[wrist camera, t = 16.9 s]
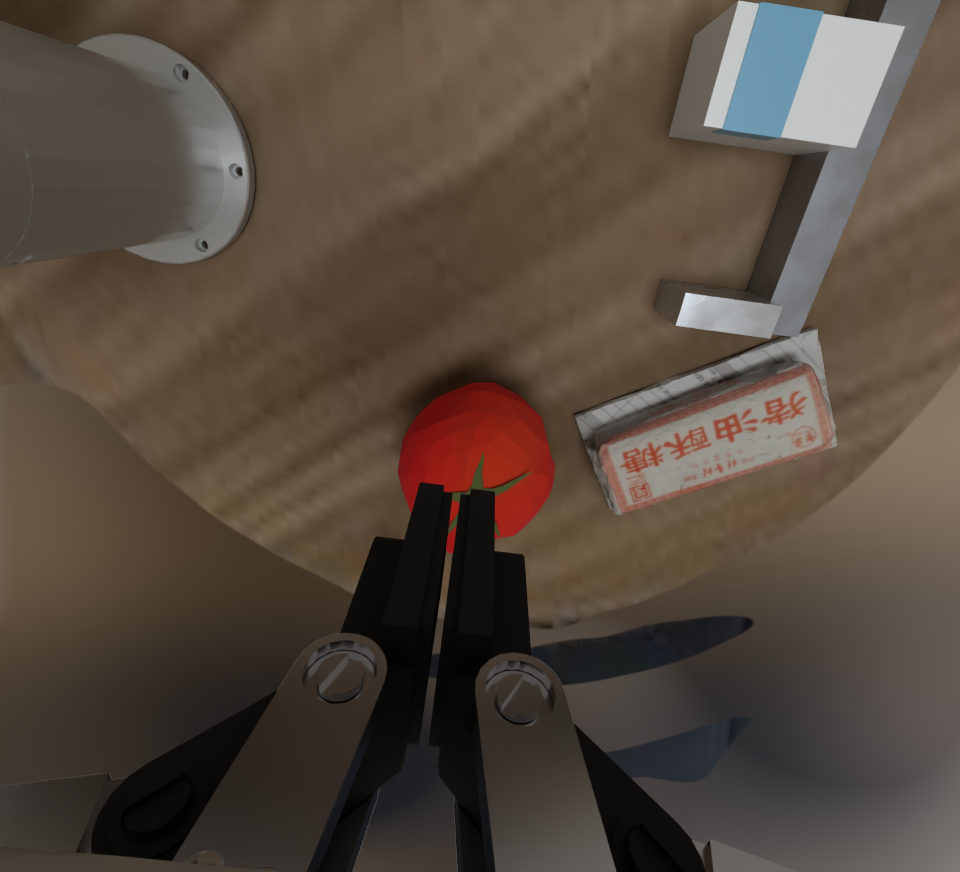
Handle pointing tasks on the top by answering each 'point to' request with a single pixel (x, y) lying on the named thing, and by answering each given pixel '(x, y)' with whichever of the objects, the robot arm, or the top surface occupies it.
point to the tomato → (480, 454)
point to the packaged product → (711, 424)
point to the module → (783, 79)
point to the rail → (806, 209)
